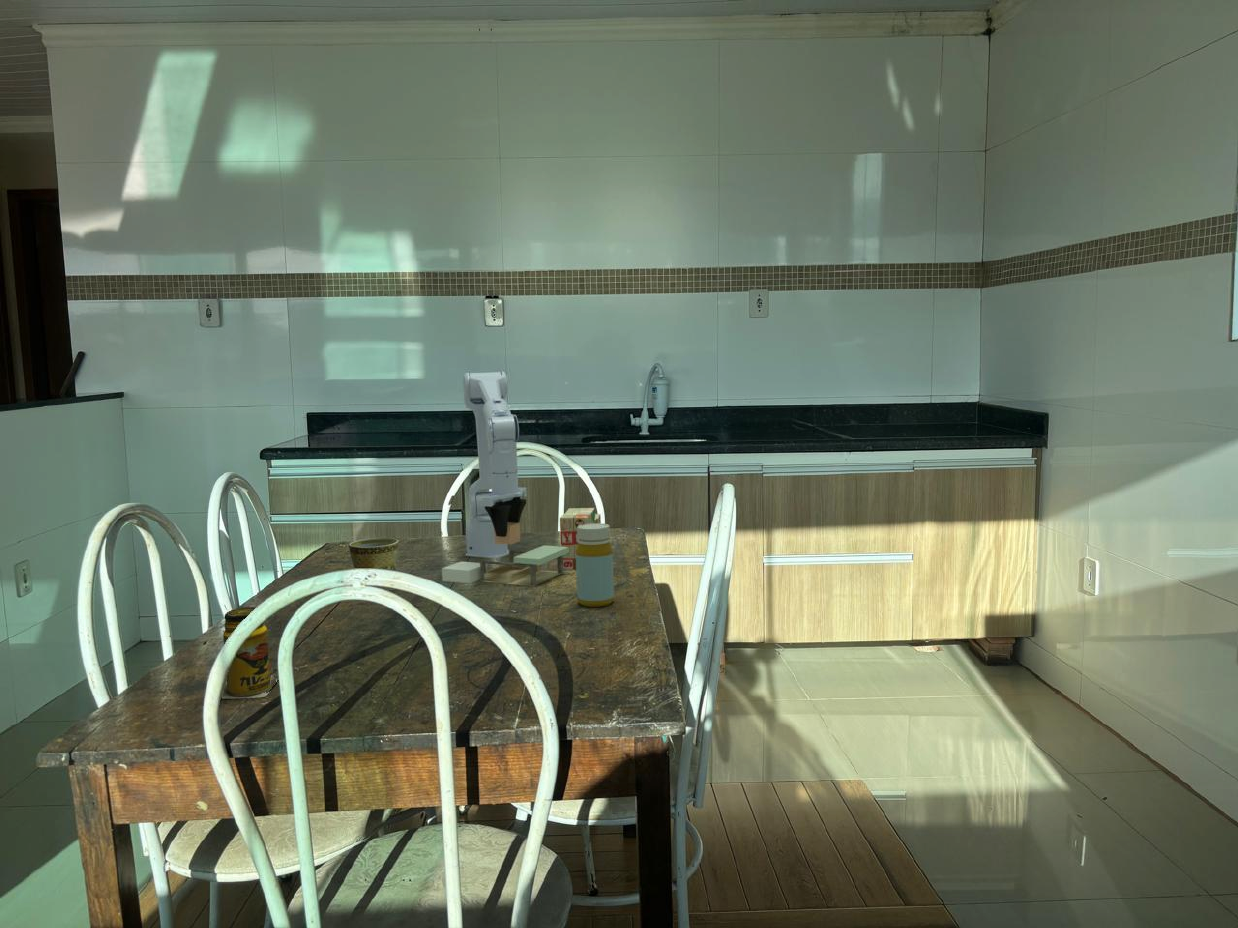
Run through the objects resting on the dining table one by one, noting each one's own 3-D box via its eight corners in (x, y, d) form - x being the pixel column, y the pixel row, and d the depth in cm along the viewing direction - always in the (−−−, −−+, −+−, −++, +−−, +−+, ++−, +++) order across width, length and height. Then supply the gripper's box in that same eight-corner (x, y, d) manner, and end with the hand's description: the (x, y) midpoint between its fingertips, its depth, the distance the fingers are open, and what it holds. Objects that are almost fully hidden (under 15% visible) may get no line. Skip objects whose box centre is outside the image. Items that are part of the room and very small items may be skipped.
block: (494, 543, 203) (494, 525, 203) (504, 539, 207) (504, 521, 206) (510, 544, 202) (509, 526, 201) (520, 541, 205) (519, 522, 205)
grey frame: (479, 582, 201) (478, 561, 201) (512, 568, 213) (511, 548, 212) (533, 587, 195) (532, 565, 195) (564, 573, 207) (563, 552, 206)
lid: (513, 562, 197) (513, 557, 197) (544, 550, 208) (544, 545, 208) (539, 564, 194) (539, 559, 194) (568, 552, 205) (568, 547, 205)
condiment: (266, 697, 136) (260, 616, 134) (205, 700, 135) (198, 619, 134) (280, 680, 143) (274, 603, 141) (222, 683, 142) (216, 605, 141)
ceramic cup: (407, 590, 196) (404, 543, 195) (359, 597, 191) (356, 549, 190) (387, 578, 207) (385, 533, 206) (341, 585, 202) (339, 539, 201)
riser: (442, 582, 202) (441, 568, 202) (461, 574, 208) (460, 561, 208) (469, 584, 199) (469, 570, 199) (488, 577, 205) (487, 563, 205)
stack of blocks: (577, 551, 230) (575, 501, 229) (602, 551, 230) (601, 501, 228) (561, 571, 209) (559, 516, 208) (589, 571, 209) (587, 516, 207)
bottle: (604, 596, 186) (602, 521, 185) (620, 604, 180) (617, 526, 178) (572, 601, 183) (569, 525, 182) (586, 609, 177) (583, 530, 175)
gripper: (501, 477, 194) (504, 541, 196) (537, 468, 207) (540, 529, 209) (473, 476, 197) (476, 539, 199) (510, 467, 210) (512, 527, 212)
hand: (507, 534), depth 204 cm, fingers closed on block, 4 cm apart
